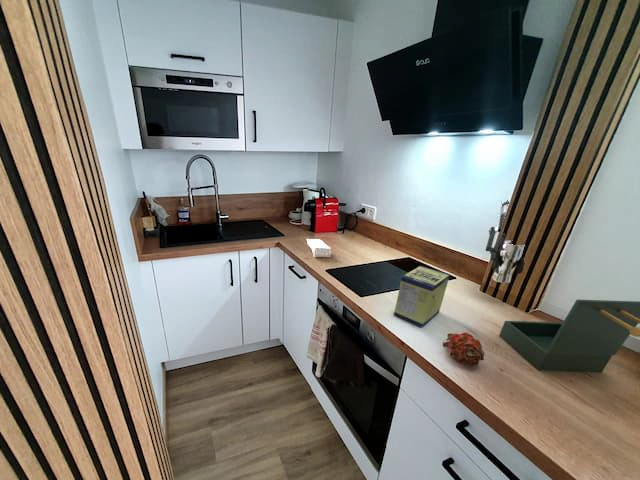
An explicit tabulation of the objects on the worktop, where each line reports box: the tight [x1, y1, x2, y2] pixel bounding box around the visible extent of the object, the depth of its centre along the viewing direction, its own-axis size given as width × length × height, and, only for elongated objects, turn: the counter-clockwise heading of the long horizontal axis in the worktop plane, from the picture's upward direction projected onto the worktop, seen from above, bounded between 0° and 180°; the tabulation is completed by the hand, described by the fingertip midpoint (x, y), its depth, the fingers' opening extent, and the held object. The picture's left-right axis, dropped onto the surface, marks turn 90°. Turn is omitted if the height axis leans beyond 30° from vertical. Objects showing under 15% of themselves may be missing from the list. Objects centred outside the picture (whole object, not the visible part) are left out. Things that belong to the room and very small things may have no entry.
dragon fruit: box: [442, 331, 485, 367], centre depth 81 cm, size 8×8×12 cm
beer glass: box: [490, 239, 526, 284], centre depth 107 cm, size 7×7×15 cm
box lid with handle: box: [547, 299, 640, 356], centre depth 68 cm, size 16×18×10 cm
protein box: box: [393, 265, 451, 328], centre depth 100 cm, size 10×16×16 cm
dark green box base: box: [498, 320, 613, 373], centre depth 84 cm, size 16×18×6 cm
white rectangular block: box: [306, 238, 332, 258], centre depth 165 cm, size 10×7×28 cm
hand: (507, 269), depth 105 cm, fingers closed on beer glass, 7 cm apart
